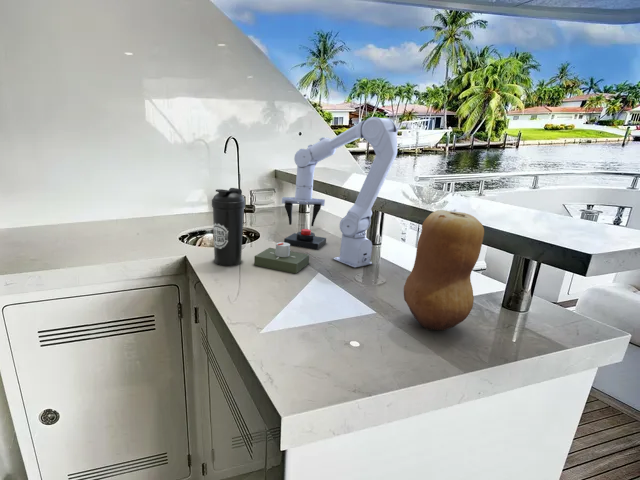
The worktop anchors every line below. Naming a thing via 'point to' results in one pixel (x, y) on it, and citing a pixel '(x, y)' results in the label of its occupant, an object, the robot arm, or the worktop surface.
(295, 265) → the dial panel
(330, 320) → the worktop surface
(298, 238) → the button housing
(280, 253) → the knob
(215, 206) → the water bottle
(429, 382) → the worktop surface
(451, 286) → the butternut squash
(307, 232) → the button
